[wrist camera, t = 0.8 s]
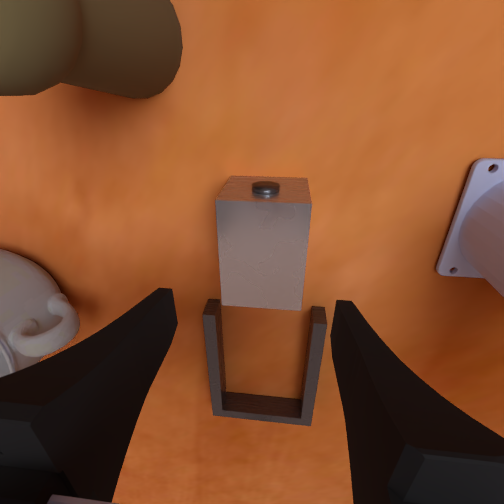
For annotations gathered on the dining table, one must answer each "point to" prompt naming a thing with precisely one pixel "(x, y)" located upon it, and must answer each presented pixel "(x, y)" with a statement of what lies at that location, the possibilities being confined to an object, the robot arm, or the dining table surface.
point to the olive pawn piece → (89, 46)
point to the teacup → (31, 314)
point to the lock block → (263, 241)
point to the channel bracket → (257, 404)
